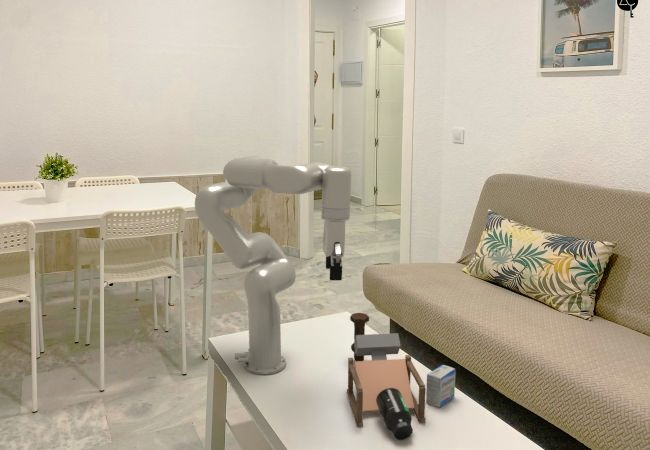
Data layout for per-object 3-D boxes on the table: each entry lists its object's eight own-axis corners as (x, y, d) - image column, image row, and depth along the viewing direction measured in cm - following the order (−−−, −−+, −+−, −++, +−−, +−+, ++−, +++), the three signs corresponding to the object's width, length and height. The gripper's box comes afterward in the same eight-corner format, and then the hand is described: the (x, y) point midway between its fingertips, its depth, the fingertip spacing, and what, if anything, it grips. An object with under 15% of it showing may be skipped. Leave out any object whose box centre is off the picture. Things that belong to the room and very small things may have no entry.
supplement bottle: (399, 383, 152) (415, 419, 142) (401, 402, 156) (418, 438, 145) (373, 391, 151) (388, 427, 141) (376, 409, 155) (391, 446, 145)
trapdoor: (360, 415, 156) (362, 408, 152) (350, 343, 169) (352, 335, 166) (412, 412, 157) (415, 404, 154) (398, 341, 171) (401, 333, 167)
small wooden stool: (356, 426, 150) (357, 386, 148) (346, 393, 167) (347, 356, 164) (425, 422, 152) (426, 383, 149) (408, 389, 169) (409, 353, 166)
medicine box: (439, 408, 159) (441, 378, 157) (425, 402, 162) (426, 373, 160) (454, 397, 164) (456, 368, 163) (440, 392, 167) (442, 363, 165)
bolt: (368, 357, 188) (369, 313, 185) (368, 365, 183) (368, 319, 180) (350, 357, 189) (350, 312, 186) (349, 364, 184) (349, 318, 181)
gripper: (318, 205, 167) (316, 264, 171) (325, 220, 150) (323, 285, 154) (345, 206, 167) (342, 264, 172) (354, 220, 151) (351, 284, 155)
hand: (333, 274), depth 163 cm, fingers open, 9 cm apart
